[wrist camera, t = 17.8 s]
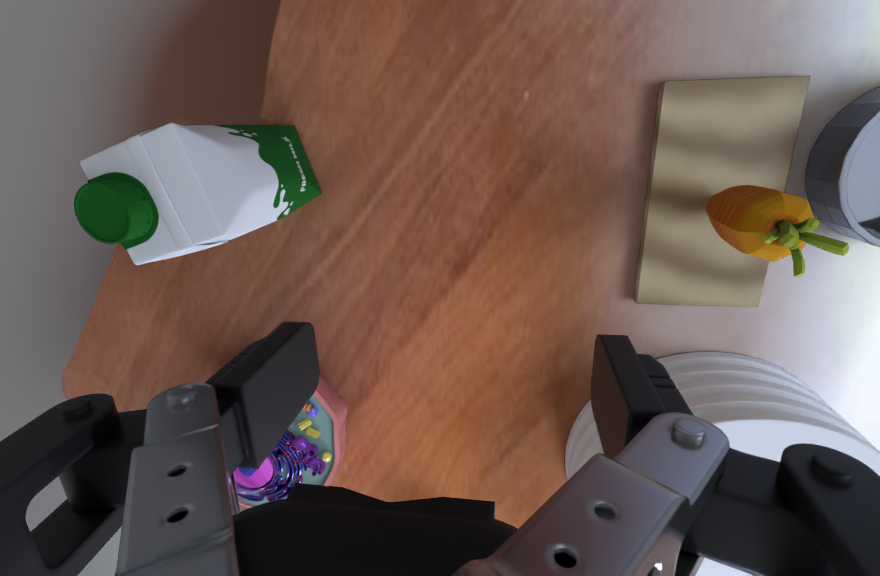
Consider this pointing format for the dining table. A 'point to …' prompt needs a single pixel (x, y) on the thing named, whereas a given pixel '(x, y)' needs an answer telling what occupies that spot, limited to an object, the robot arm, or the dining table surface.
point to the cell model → (300, 451)
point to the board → (712, 184)
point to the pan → (849, 171)
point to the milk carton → (192, 187)
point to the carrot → (768, 224)
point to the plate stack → (741, 416)
